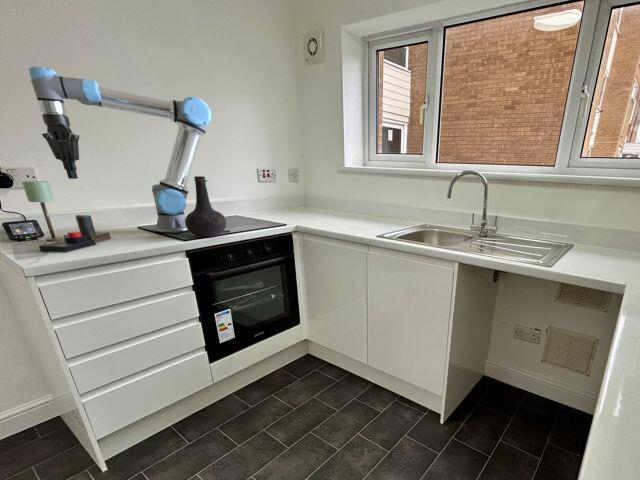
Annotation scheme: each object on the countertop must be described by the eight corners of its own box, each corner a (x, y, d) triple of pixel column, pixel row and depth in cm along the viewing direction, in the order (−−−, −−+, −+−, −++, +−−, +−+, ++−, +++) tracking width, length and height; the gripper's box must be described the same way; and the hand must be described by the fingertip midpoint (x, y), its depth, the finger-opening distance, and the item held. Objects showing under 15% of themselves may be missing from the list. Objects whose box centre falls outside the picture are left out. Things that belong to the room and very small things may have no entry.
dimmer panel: (112, 238, 160) (110, 232, 159) (92, 244, 150) (89, 236, 149) (85, 237, 160) (83, 231, 159) (63, 242, 150) (60, 235, 149)
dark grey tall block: (98, 233, 156) (93, 214, 153) (91, 235, 151) (85, 216, 148) (85, 233, 155) (80, 214, 152) (78, 235, 150) (72, 216, 147)
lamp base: (96, 244, 150) (94, 235, 148) (66, 252, 136) (62, 242, 135) (73, 243, 150) (70, 234, 148) (40, 251, 136) (37, 241, 135)
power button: (84, 236, 147) (82, 231, 146) (75, 238, 143) (74, 233, 142) (74, 236, 147) (73, 231, 146) (66, 238, 143) (64, 233, 142)
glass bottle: (187, 240, 162) (176, 176, 152) (187, 233, 176) (176, 174, 166) (229, 238, 170) (221, 177, 160) (226, 231, 185) (218, 175, 175)
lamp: (71, 239, 140) (53, 181, 132) (55, 242, 133) (35, 182, 125) (54, 238, 140) (35, 180, 132) (37, 242, 133) (15, 181, 125)
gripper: (79, 116, 139) (96, 178, 148) (47, 115, 139) (66, 177, 148) (62, 113, 132) (81, 179, 141) (28, 112, 132) (49, 178, 141)
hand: (73, 178), depth 144 cm, fingers closed
